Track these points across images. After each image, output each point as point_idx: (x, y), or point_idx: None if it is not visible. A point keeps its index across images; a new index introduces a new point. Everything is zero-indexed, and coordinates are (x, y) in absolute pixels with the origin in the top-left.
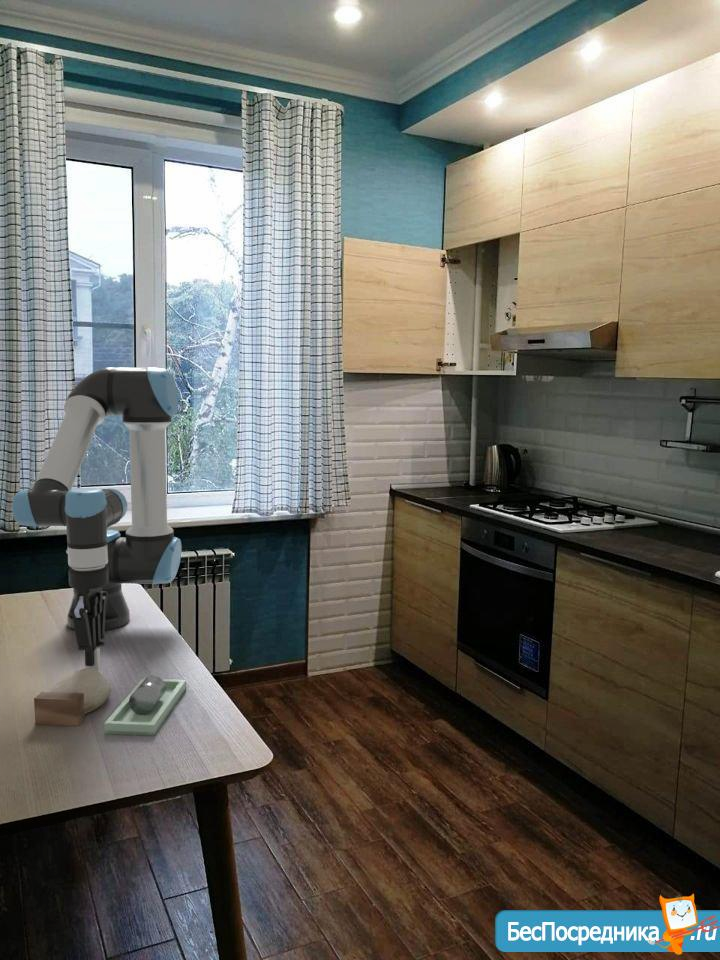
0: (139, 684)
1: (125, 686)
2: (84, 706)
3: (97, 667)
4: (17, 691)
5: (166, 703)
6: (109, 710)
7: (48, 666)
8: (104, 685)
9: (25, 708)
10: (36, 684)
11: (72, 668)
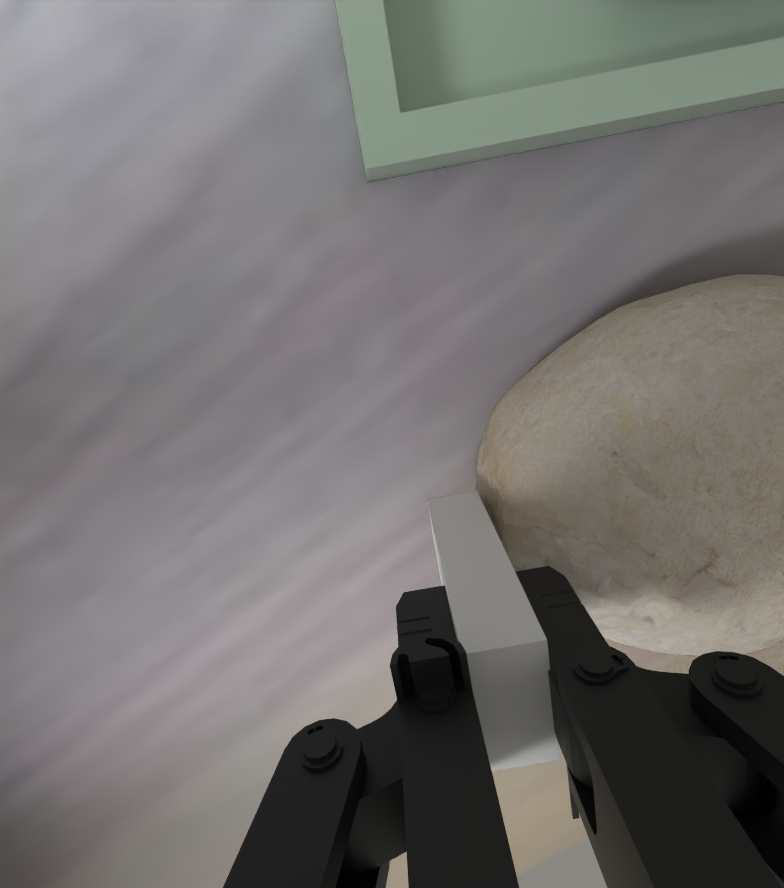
0: (488, 125)
1: (375, 326)
2: None
3: (497, 536)
4: (569, 812)
5: None
6: (755, 218)
7: None
8: (723, 324)
9: None
10: None
11: (234, 754)
